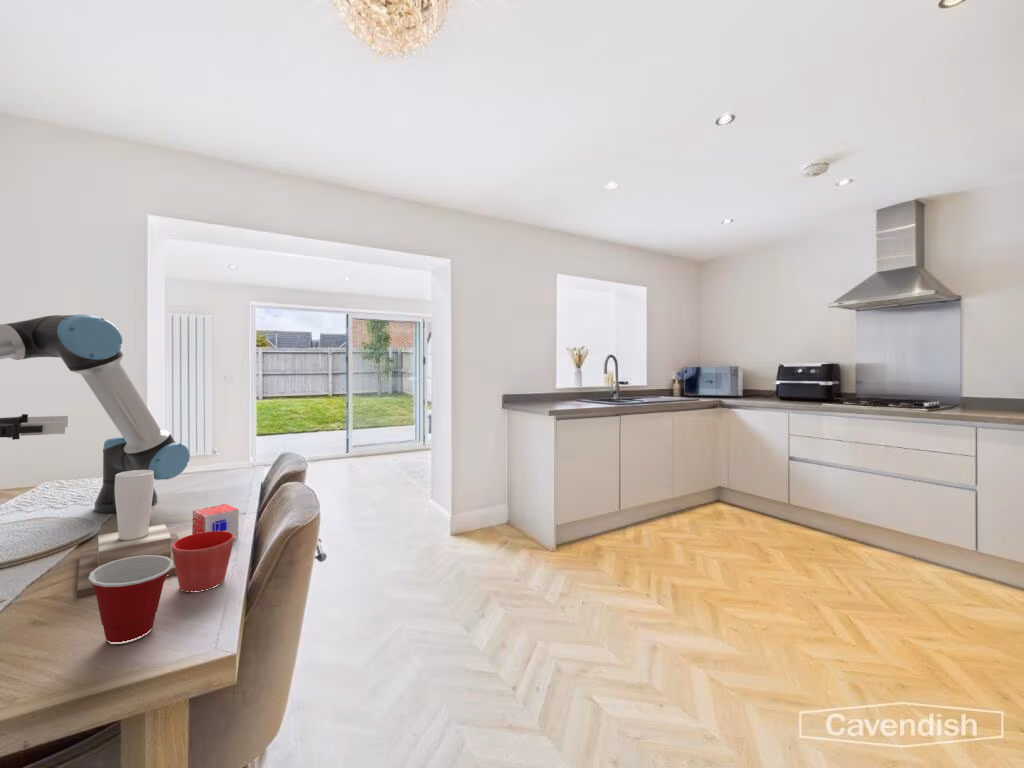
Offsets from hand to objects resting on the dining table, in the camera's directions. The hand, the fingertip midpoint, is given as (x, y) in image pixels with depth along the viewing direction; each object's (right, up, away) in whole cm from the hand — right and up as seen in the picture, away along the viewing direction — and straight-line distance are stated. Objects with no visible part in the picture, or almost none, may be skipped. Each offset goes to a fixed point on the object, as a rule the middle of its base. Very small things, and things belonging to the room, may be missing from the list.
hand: (66, 424), depth 99 cm
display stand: (+18, -33, -2) cm, 37 cm away
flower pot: (+40, -34, -9) cm, 53 cm away
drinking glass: (+18, -26, -2) cm, 32 cm away
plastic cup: (+40, -34, -27) cm, 59 cm away
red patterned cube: (+25, -33, +15) cm, 44 cm away
